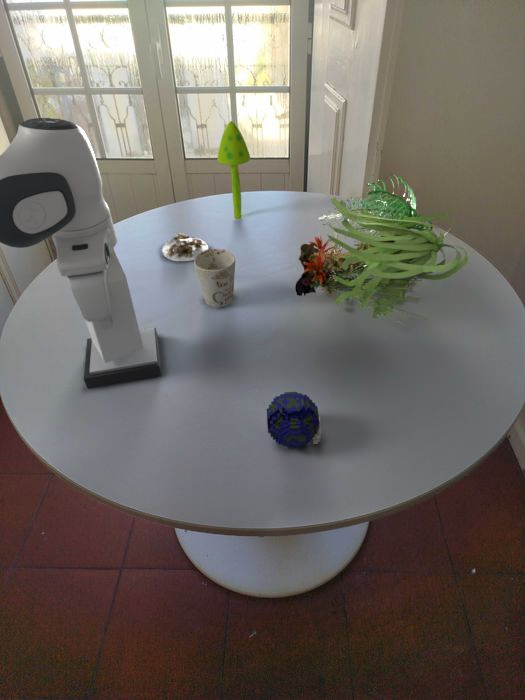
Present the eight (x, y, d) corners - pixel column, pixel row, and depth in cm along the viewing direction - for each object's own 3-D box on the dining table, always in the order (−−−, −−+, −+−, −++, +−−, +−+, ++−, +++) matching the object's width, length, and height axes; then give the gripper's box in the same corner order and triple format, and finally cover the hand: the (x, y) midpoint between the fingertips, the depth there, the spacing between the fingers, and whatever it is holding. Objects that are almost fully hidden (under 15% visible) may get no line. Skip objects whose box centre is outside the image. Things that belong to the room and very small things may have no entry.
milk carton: (92, 341, 85) (60, 249, 73) (129, 328, 88) (105, 236, 76) (105, 364, 81) (74, 269, 68) (143, 348, 84) (120, 255, 71)
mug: (203, 314, 97) (197, 273, 91) (193, 282, 106) (187, 242, 100) (242, 307, 99) (239, 266, 92) (229, 275, 108) (225, 236, 101)
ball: (315, 414, 77) (317, 382, 71) (322, 453, 71) (325, 421, 66) (266, 417, 76) (265, 385, 71) (269, 456, 71) (268, 424, 66)
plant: (337, 214, 114) (489, 174, 90) (339, 339, 113) (493, 332, 89) (249, 180, 92) (420, 114, 68) (250, 335, 91) (424, 324, 67)
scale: (86, 388, 83) (81, 376, 80) (89, 348, 91) (85, 336, 88) (161, 375, 84) (158, 363, 82) (158, 337, 92) (155, 325, 90)
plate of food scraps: (202, 263, 112) (200, 249, 110) (154, 260, 114) (151, 246, 111) (214, 240, 121) (212, 226, 118) (169, 237, 122) (167, 224, 120)
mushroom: (221, 224, 127) (211, 126, 110) (224, 210, 133) (215, 115, 116) (252, 224, 126) (247, 125, 110) (253, 210, 133) (249, 115, 116)
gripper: (68, 207, 77) (91, 278, 86) (55, 273, 62) (85, 350, 71) (108, 203, 78) (126, 273, 87) (104, 266, 63) (127, 343, 72)
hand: (108, 309), depth 79 cm, fingers closed on milk carton, 8 cm apart
